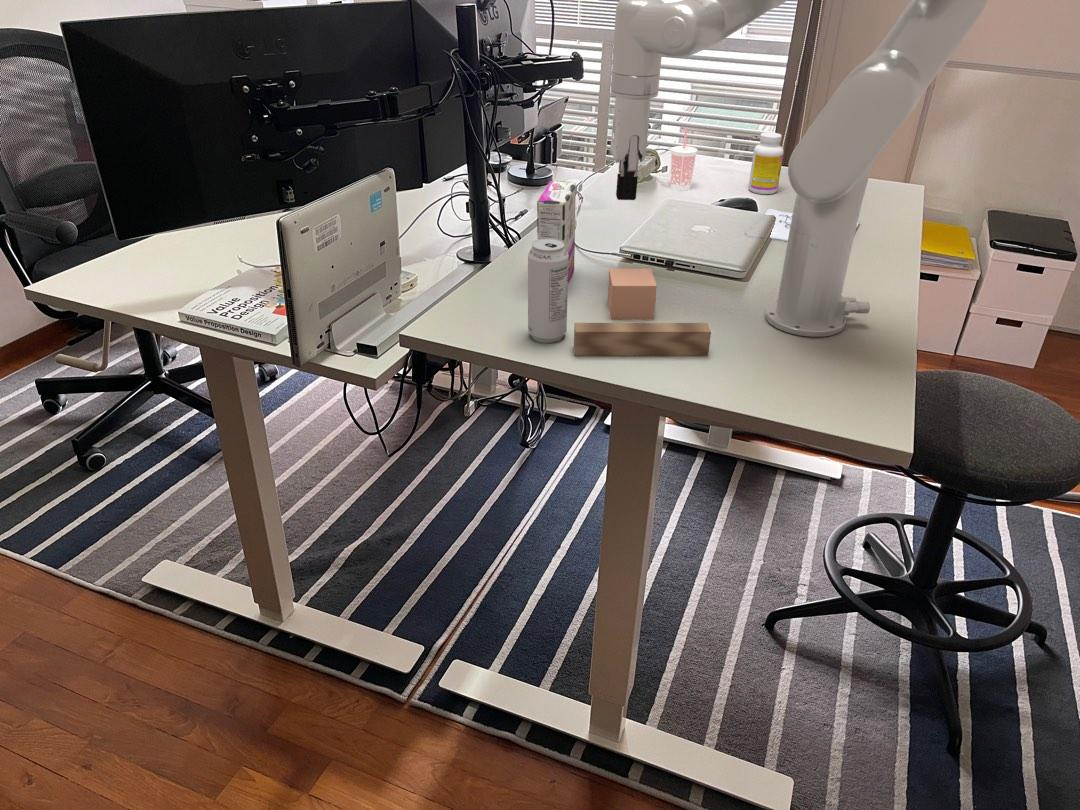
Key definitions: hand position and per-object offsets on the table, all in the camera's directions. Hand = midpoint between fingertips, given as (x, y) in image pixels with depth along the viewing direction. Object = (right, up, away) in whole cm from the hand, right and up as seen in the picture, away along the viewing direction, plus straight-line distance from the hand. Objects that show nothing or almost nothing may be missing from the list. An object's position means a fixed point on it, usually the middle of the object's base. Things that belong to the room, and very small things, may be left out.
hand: (625, 198), depth 140 cm
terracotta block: (0, -19, -2) cm, 19 cm away
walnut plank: (+1, -27, -15) cm, 31 cm away
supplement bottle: (+38, +15, +53) cm, 67 cm away
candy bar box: (-12, -13, +8) cm, 19 cm away
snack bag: (+40, +1, +32) cm, 51 cm away
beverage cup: (+19, +16, +55) cm, 60 cm away
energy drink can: (-13, -24, -10) cm, 30 cm away
